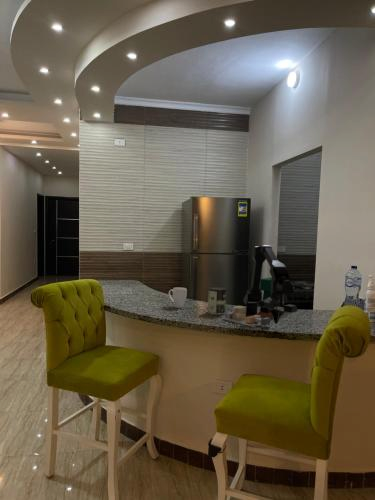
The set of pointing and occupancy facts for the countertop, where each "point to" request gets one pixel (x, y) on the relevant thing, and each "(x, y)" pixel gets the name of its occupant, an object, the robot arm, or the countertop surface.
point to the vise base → (229, 317)
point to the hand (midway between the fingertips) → (276, 323)
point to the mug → (178, 296)
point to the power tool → (265, 294)
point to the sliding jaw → (257, 319)
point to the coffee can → (217, 300)
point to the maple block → (239, 312)
